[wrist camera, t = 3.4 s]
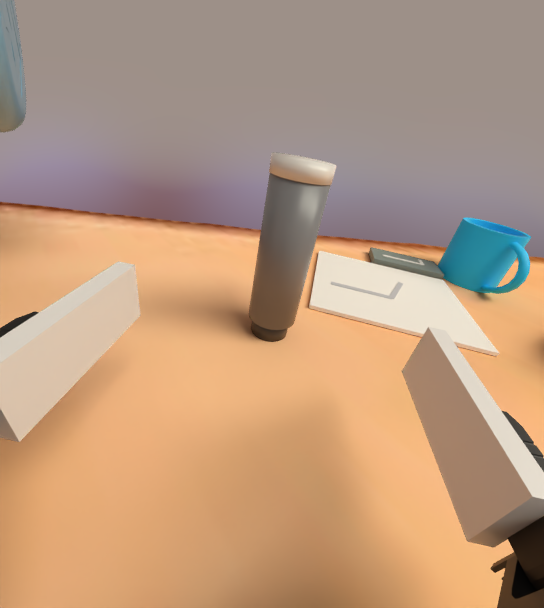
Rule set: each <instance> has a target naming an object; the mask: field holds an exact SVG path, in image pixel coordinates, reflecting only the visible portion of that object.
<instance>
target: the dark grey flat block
mask: <svg viewBox="0 0 544 608" xmlns="http://www.w3.org/2000/svg"><path fill="white" fill-rule="evenodd" d="M369 256H370V260H371V263H374V264H378V265H382V266H386V267H390V268H395V269H399V270H403V271H407V272H411V273H416V274H420V275H424V276H428V277H432V278H437V279H441V280H442V278H443V276H444V274H443V273H442V271H441V270H440V269H439V268H438V266H437V265H436V264H435V263H434V262H432V261H428V260H423V259H419V258H415V257H411V256H406V255H402V254H398V253H393V252H389V251H385V250H380V249H376V248H372V247H371V248H370V251H369Z"/></svg>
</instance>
